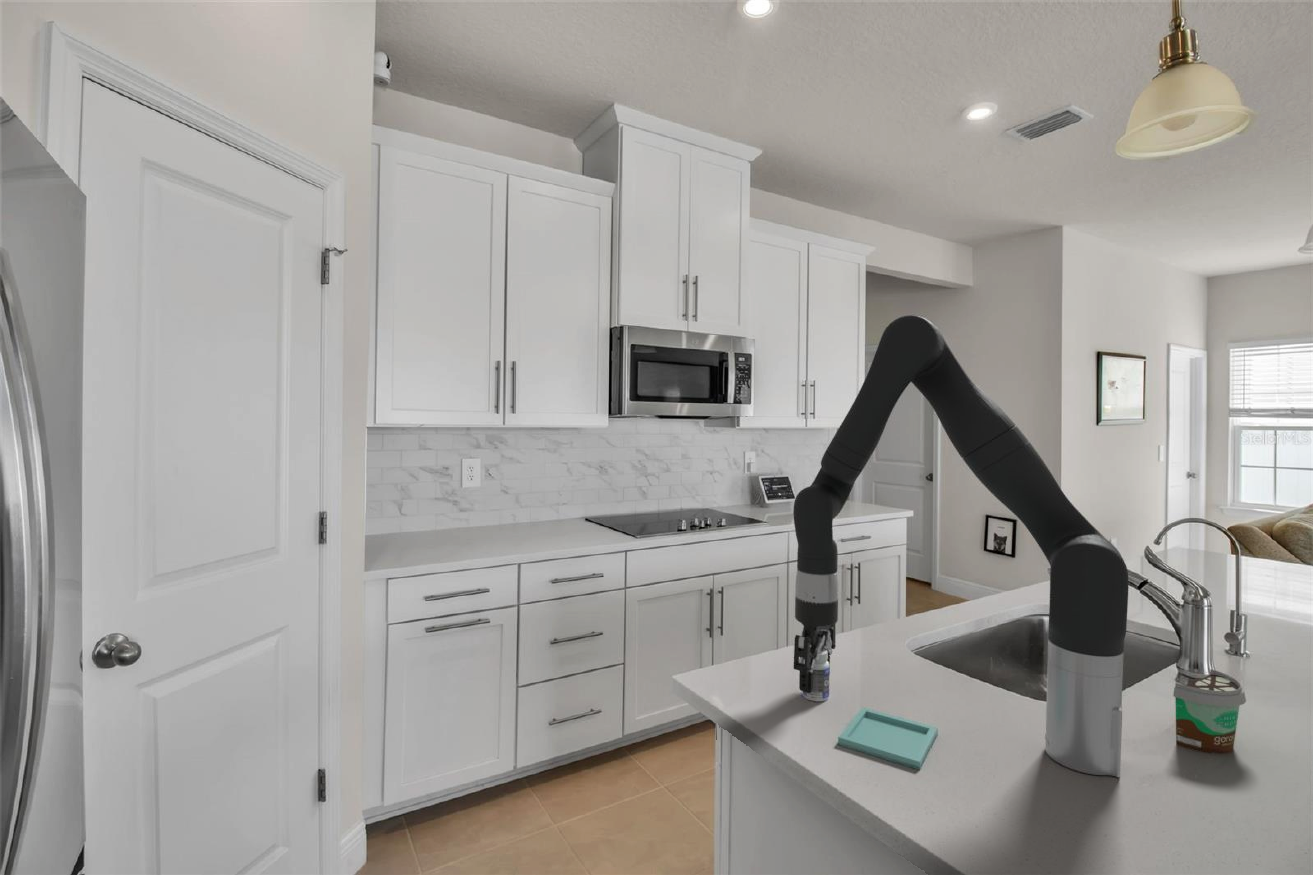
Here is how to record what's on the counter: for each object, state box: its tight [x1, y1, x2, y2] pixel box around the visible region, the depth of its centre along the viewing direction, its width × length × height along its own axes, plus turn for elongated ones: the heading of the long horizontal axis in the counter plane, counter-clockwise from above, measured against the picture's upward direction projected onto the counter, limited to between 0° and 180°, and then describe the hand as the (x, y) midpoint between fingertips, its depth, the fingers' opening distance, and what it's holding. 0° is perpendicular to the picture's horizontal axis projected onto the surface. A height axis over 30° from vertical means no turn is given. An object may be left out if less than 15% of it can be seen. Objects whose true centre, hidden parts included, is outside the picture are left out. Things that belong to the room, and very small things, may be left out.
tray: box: [837, 706, 939, 771], centre depth 100 cm, size 12×12×1 cm
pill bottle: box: [802, 649, 831, 702], centre depth 115 cm, size 5×5×8 cm
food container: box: [1172, 668, 1247, 755], centre depth 98 cm, size 12×6×10 cm, turn 118°
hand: (814, 682), depth 115 cm, fingers open, 8 cm apart
